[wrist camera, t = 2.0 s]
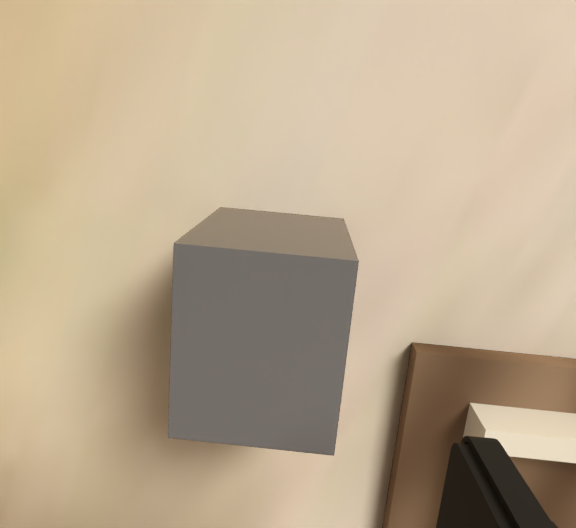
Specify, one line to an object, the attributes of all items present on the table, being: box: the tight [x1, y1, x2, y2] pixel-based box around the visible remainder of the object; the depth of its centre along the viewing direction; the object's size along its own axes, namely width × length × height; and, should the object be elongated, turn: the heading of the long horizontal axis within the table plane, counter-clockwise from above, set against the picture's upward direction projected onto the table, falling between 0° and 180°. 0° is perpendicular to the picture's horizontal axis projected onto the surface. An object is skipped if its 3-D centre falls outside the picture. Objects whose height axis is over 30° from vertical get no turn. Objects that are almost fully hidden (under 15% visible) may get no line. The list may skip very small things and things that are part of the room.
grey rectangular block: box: [168, 207, 359, 456], centre depth 18 cm, size 5×7×7 cm
